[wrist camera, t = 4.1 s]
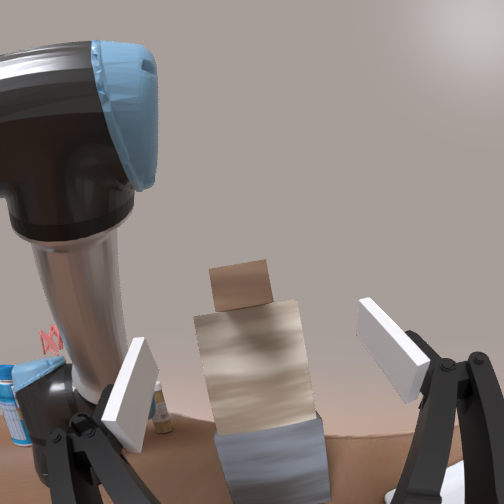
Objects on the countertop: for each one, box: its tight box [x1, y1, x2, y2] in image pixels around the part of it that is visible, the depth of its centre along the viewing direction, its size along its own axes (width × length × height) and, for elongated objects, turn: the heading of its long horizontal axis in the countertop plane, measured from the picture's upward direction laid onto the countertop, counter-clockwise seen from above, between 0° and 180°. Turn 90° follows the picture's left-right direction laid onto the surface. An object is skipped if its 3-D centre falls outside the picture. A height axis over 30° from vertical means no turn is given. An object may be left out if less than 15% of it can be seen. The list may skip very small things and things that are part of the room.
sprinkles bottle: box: [152, 381, 172, 433], centre depth 56 cm, size 5×5×13 cm
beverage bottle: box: [0, 365, 32, 447], centre depth 37 cm, size 8×8×20 cm
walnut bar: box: [209, 260, 274, 312], centre depth 32 cm, size 28×4×3 cm, turn 1°
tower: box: [194, 299, 331, 504], centre depth 34 cm, size 19×12×28 cm, turn 1°
